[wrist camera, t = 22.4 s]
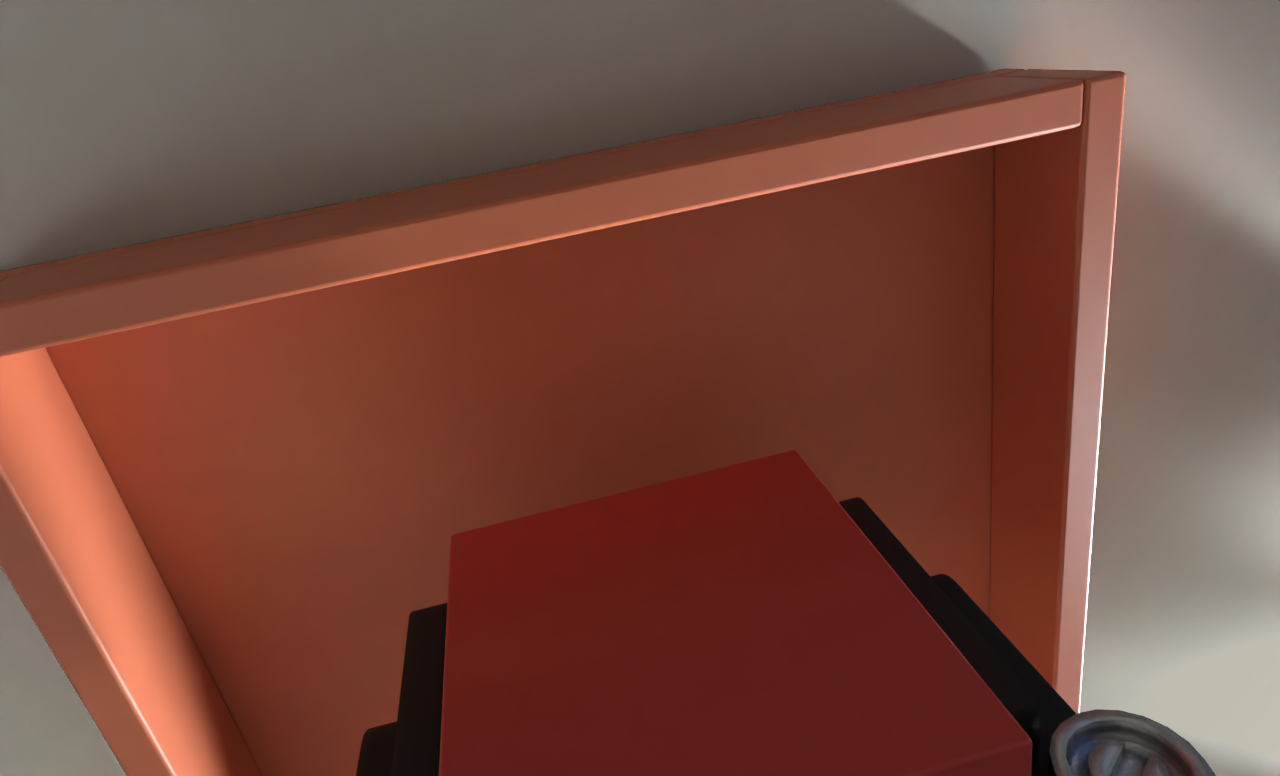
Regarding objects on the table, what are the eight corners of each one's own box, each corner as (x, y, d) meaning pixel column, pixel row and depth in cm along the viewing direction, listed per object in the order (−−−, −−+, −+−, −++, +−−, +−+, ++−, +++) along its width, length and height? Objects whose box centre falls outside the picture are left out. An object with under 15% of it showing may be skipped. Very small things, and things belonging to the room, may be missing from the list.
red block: (530, 788, 12) (564, 1234, 7) (449, 534, 10) (428, 920, 6) (821, 705, 12) (1021, 1077, 8) (795, 447, 11) (1036, 740, 6)
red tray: (292, 863, 16) (261, 1003, 14) (-13, 273, 11) (-145, 332, 9) (996, 658, 18) (1078, 751, 15) (1006, 67, 13) (1129, 70, 10)
